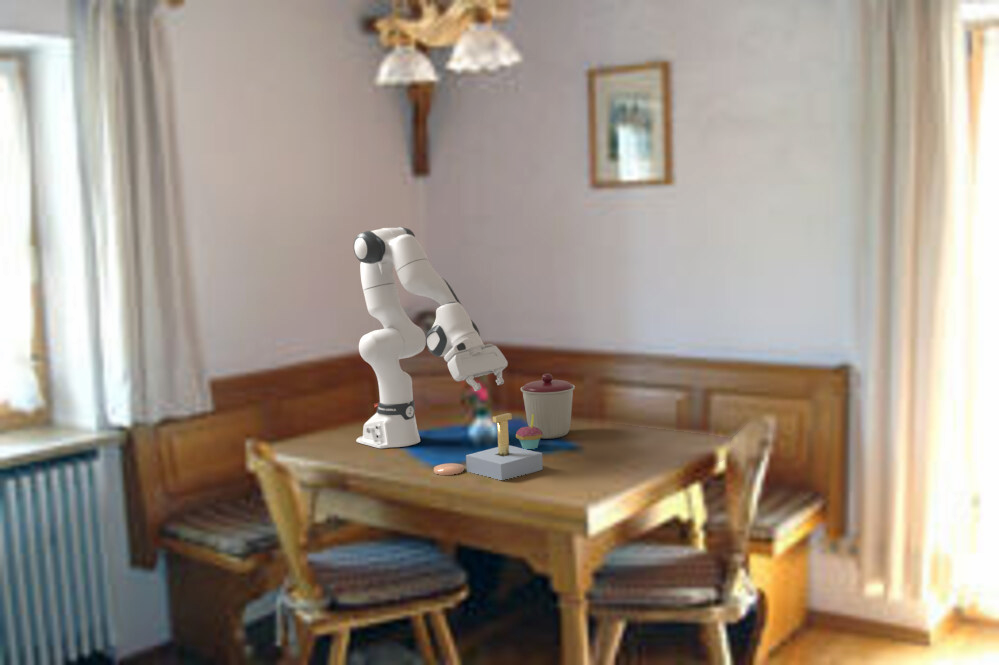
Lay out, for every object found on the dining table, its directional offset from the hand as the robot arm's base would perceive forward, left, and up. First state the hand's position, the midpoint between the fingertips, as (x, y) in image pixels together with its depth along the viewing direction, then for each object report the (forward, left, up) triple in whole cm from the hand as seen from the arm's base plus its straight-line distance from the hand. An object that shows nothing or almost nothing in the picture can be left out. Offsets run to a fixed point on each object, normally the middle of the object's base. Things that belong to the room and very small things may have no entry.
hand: (490, 386), depth 312 cm
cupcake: (-1, +20, -24) cm, 32 cm away
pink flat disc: (-7, -13, -24) cm, 28 cm away
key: (+8, -5, -24) cm, 25 cm away
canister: (-5, +37, -24) cm, 45 cm away
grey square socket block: (+8, -5, -24) cm, 25 cm away
